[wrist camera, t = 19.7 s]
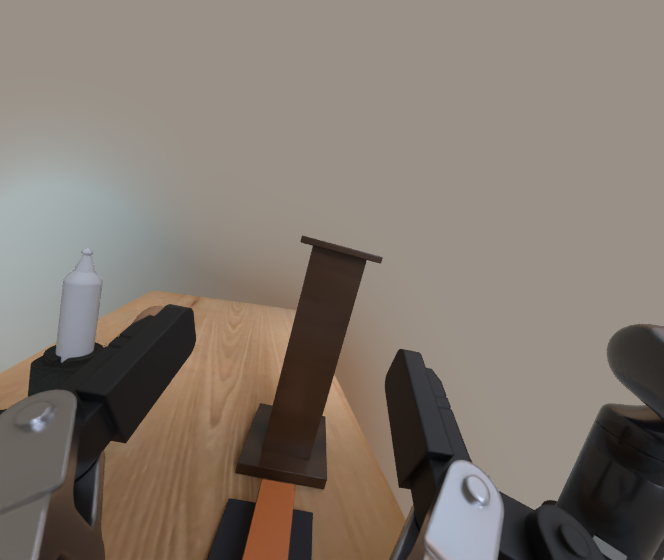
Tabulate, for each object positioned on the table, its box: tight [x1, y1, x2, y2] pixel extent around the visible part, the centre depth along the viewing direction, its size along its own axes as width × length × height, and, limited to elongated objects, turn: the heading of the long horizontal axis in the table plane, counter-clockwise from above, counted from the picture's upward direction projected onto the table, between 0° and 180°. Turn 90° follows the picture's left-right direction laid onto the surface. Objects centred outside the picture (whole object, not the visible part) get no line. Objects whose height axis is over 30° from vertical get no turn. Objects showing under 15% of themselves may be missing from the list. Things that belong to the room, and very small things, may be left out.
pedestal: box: [236, 236, 382, 489], centre depth 37 cm, size 12×12×32 cm
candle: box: [28, 248, 104, 397], centre depth 27 cm, size 5×5×25 cm
